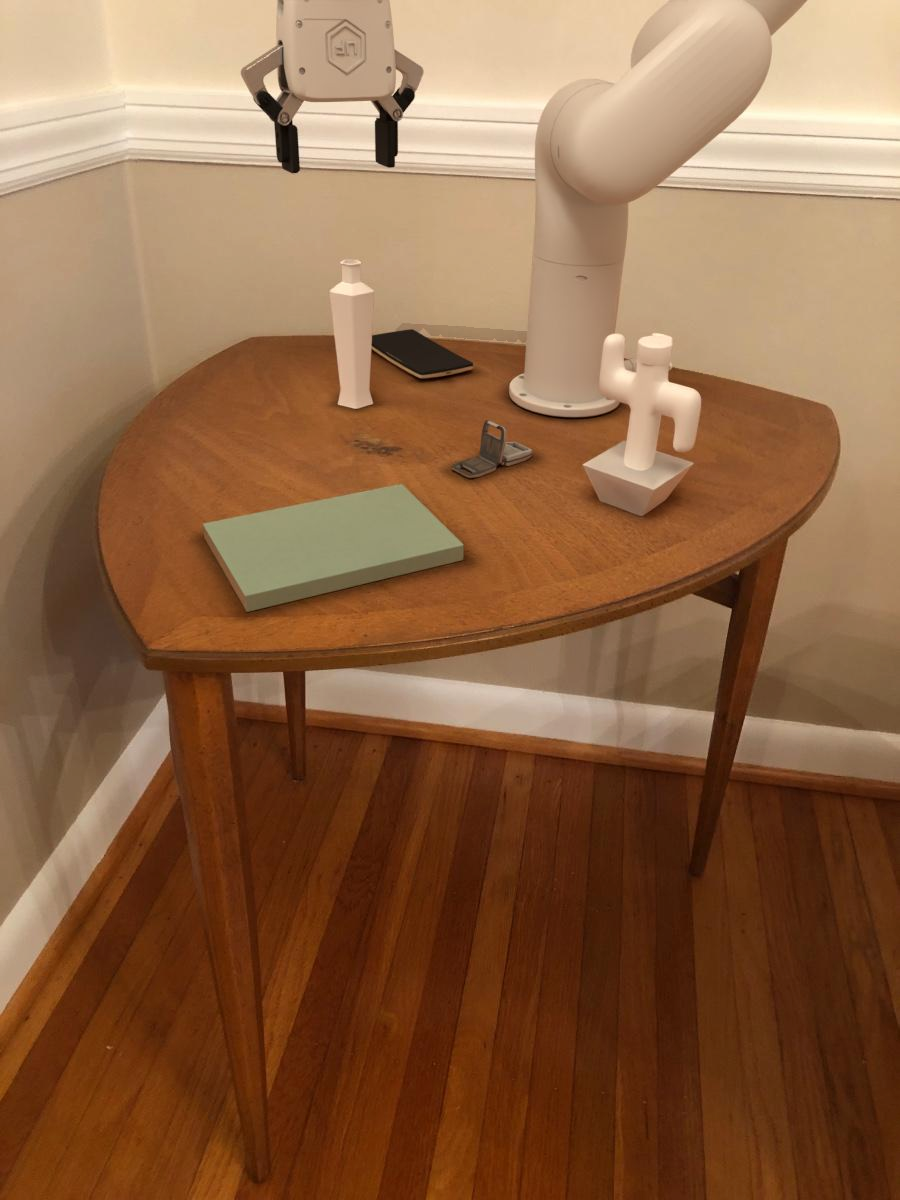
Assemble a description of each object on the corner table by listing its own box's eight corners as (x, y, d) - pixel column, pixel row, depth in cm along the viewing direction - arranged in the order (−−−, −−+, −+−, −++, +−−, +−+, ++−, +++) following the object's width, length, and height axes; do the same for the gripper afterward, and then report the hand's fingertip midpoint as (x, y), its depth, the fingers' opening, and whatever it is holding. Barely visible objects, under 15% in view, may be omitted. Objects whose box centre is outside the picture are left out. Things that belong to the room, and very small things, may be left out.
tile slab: (402, 498, 85) (402, 483, 84) (463, 560, 76) (464, 544, 75) (204, 538, 78) (202, 523, 77) (246, 612, 69) (244, 595, 68)
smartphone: (421, 373, 108) (361, 336, 119) (421, 382, 109) (361, 345, 119) (475, 363, 112) (412, 328, 122) (475, 372, 112) (412, 336, 123)
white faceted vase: (370, 411, 102) (367, 269, 93) (331, 407, 102) (324, 265, 94) (381, 396, 105) (379, 258, 97) (343, 392, 106) (338, 255, 98)
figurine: (659, 532, 81) (688, 362, 73) (567, 497, 86) (585, 335, 78) (698, 503, 86) (729, 340, 77) (609, 472, 91) (630, 316, 82)
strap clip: (514, 448, 95) (516, 408, 92) (534, 458, 93) (538, 417, 91) (448, 470, 90) (450, 428, 88) (469, 481, 88) (471, 438, 86)
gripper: (245, -54, 74) (264, 180, 84) (440, -46, 81) (437, 169, 91) (219, -53, 80) (239, 166, 89) (403, -46, 87) (404, 157, 96)
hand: (339, 168), depth 90 cm, fingers open, 9 cm apart
